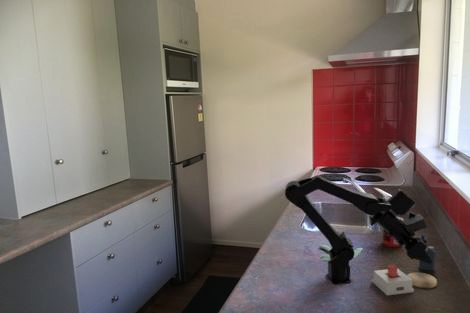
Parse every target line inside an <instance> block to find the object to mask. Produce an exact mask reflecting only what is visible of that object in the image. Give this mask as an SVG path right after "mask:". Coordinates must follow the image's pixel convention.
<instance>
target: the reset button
mask: <svg viewBox="0 0 470 313" xmlns="http://www.w3.org/2000/svg"><path fill="white" fill-rule="evenodd" d="M397 268H398V266H397V265H395V264H389V265H387V269H388V277H389V278H397Z"/></svg>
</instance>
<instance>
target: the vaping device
mask: <svg viewBox="0 0 470 313" xmlns="http://www.w3.org/2000/svg"><path fill="white" fill-rule="evenodd" d="M419 238H420V239H421V240H422V241H423V242H424V243H425V244H426V245H428V243H427V240H428V239H427V237H426V236H425V235H423V234H422V235H420V237H419ZM425 251H426V253H427V254H428V255H429V257H430V258H431V260H432V261H433V263H432V264H428V263H425V262H423V261H420V260H419V265H418V268H419V269H421V270H425V271H434V270H435V268H436V250H435V247H434V246H432V245H431V246H427V248H426V250H425Z"/></svg>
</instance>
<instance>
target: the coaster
mask: <svg viewBox="0 0 470 313" xmlns="http://www.w3.org/2000/svg"><path fill="white" fill-rule="evenodd" d="M406 275H407V276H408V277H409V278H411V279H412V287H417V288H420V289H421V288H422V289H433V288H436V287H437V285H438V280H437V279H436V278H435V277H434V276H432V275H431V274H428V273H424V272H420V271H419V272H410V273H408V274H406Z"/></svg>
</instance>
